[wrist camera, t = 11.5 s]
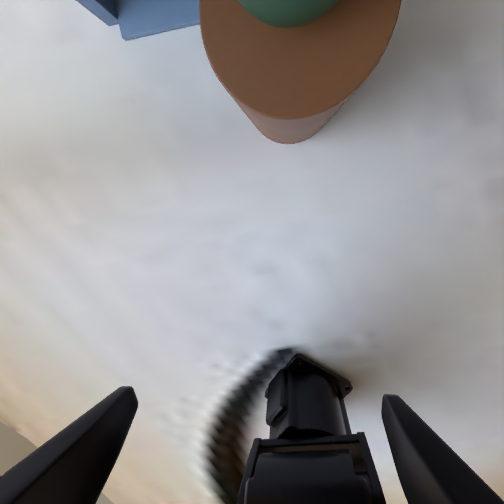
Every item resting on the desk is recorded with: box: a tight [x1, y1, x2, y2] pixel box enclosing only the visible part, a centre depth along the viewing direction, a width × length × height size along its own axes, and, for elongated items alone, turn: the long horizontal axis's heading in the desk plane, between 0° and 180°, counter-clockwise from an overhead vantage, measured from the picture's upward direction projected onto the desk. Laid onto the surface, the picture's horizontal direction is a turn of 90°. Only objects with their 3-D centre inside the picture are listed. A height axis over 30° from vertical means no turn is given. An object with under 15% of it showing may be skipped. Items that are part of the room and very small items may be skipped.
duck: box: [199, 0, 401, 144], centre depth 10 cm, size 7×6×14 cm
